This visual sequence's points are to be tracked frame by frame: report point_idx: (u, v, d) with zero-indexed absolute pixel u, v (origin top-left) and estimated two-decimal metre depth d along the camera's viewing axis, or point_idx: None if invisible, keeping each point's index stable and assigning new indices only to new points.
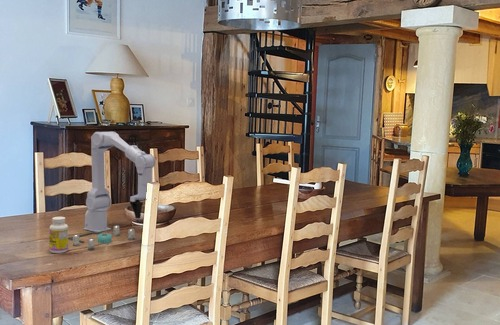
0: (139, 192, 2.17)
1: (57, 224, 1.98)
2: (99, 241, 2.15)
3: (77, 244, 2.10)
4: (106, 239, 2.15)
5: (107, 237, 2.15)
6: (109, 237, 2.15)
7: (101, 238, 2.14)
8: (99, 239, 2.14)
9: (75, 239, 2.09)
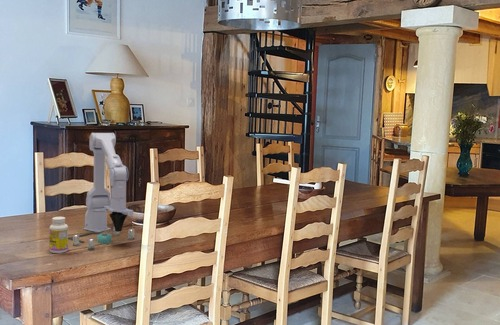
0: None
1: (57, 224, 1.98)
2: (99, 241, 2.15)
3: (77, 244, 2.10)
4: (106, 239, 2.15)
5: (107, 237, 2.15)
6: (109, 237, 2.15)
7: (101, 238, 2.14)
8: (99, 239, 2.14)
9: (75, 239, 2.09)
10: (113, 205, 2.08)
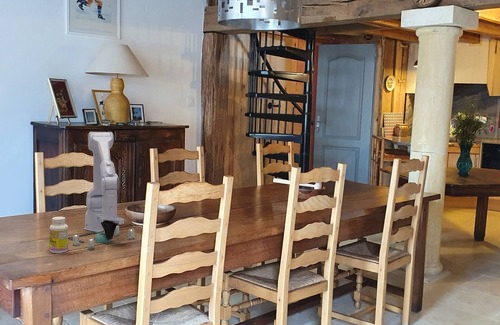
0: None
1: (57, 224, 1.98)
2: (97, 240, 2.15)
3: (77, 244, 2.10)
4: (104, 238, 2.15)
5: (105, 236, 2.15)
6: None
7: (99, 237, 2.15)
8: (97, 238, 2.15)
9: (75, 239, 2.09)
10: (104, 214, 2.12)
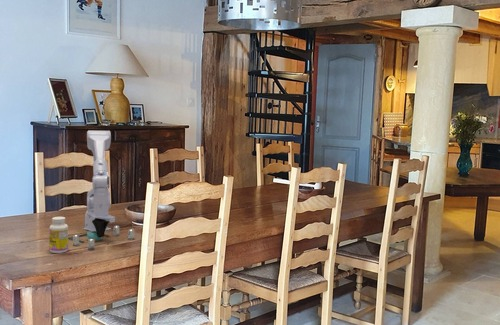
0: None
1: (57, 224, 1.98)
2: (89, 238, 2.18)
3: (77, 244, 2.10)
4: (96, 236, 2.18)
5: None
6: None
7: (91, 235, 2.17)
8: (89, 236, 2.18)
9: (75, 239, 2.09)
10: (96, 212, 2.14)
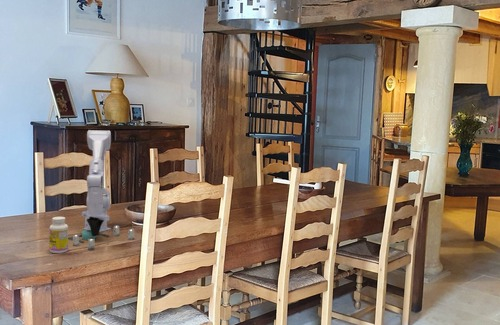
0: None
1: (57, 224, 1.98)
2: (84, 237, 2.20)
3: (77, 244, 2.10)
4: (90, 235, 2.20)
5: (91, 233, 2.20)
6: None
7: (85, 234, 2.19)
8: (84, 235, 2.19)
9: (75, 239, 2.09)
10: (90, 211, 2.16)
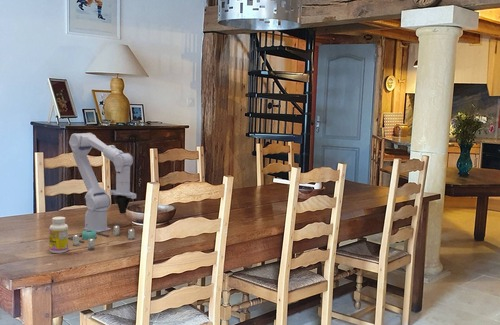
0: None
1: (57, 224, 1.98)
2: (84, 237, 2.20)
3: (77, 244, 2.10)
4: (90, 235, 2.20)
5: (91, 233, 2.20)
6: (93, 233, 2.20)
7: (85, 234, 2.19)
8: (83, 235, 2.20)
9: (75, 239, 2.09)
10: (118, 189, 2.25)
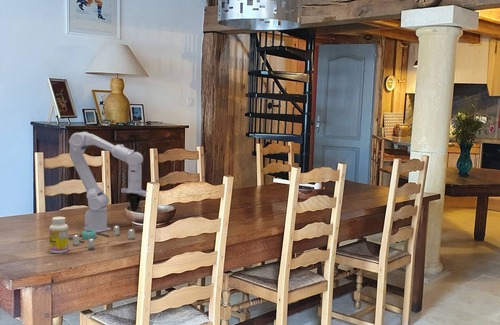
0: None
1: (57, 224, 1.98)
2: (84, 237, 2.20)
3: (77, 244, 2.10)
4: (90, 235, 2.20)
5: (91, 233, 2.20)
6: (93, 233, 2.20)
7: (85, 234, 2.19)
8: (83, 235, 2.20)
9: (75, 239, 2.09)
10: (130, 187, 2.31)
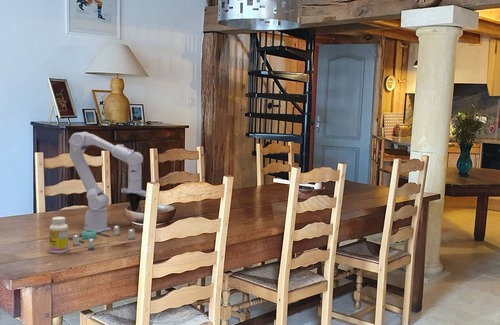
0: None
1: (57, 224, 1.98)
2: (84, 237, 2.20)
3: (77, 244, 2.10)
4: (90, 235, 2.20)
5: (91, 233, 2.20)
6: (93, 233, 2.20)
7: (85, 234, 2.19)
8: (84, 235, 2.20)
9: (75, 239, 2.09)
10: (130, 187, 2.31)
